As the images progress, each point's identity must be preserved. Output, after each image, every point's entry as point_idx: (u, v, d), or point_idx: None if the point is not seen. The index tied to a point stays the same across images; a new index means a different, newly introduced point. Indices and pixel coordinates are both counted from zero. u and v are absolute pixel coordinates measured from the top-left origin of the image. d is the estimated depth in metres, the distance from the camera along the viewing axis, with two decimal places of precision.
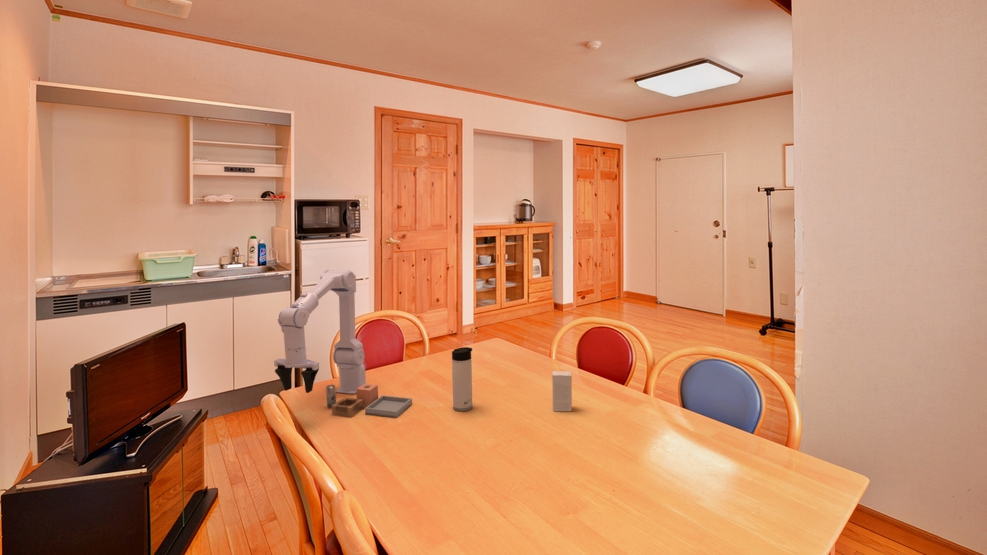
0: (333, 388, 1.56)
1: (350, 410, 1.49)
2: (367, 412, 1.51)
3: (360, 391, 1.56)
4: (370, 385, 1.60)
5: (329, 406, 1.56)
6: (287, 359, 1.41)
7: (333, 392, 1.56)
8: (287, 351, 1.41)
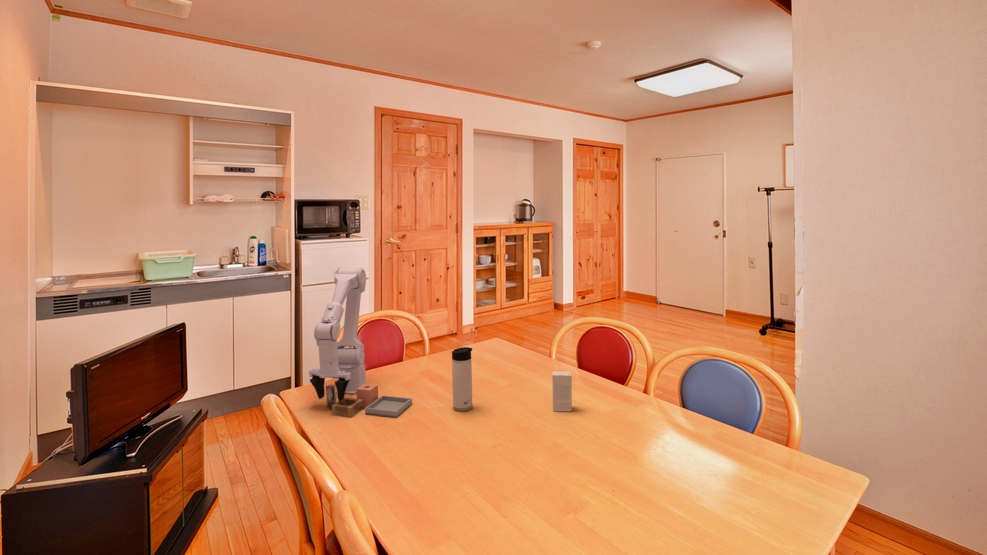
0: (333, 388, 1.56)
1: (350, 410, 1.49)
2: (367, 412, 1.51)
3: (360, 391, 1.56)
4: (370, 385, 1.60)
5: (329, 406, 1.56)
6: (322, 370, 1.53)
7: (333, 392, 1.56)
8: (322, 362, 1.53)
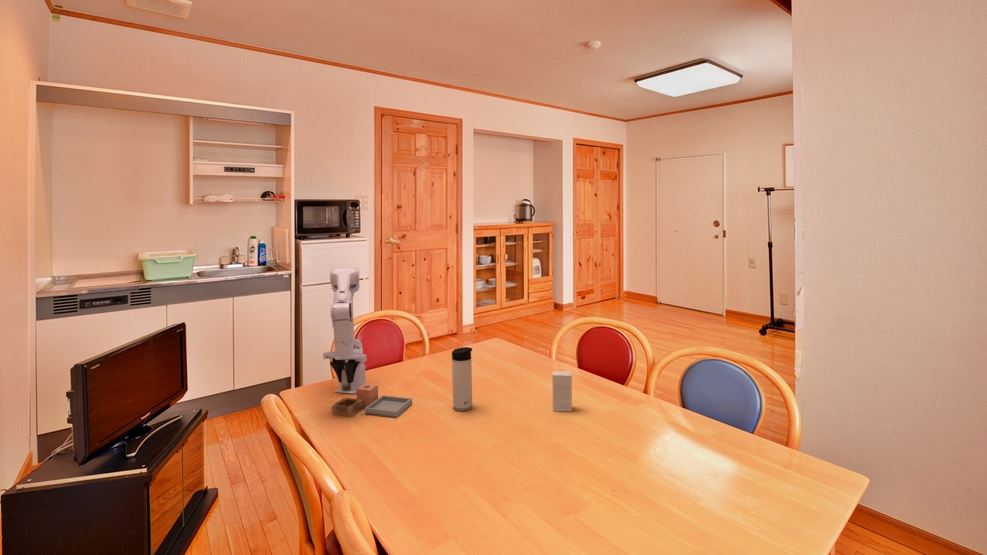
0: None
1: (350, 410, 1.49)
2: (367, 412, 1.51)
3: (360, 391, 1.56)
4: (370, 385, 1.60)
5: (344, 389, 1.51)
6: (336, 352, 1.48)
7: None
8: (337, 344, 1.48)
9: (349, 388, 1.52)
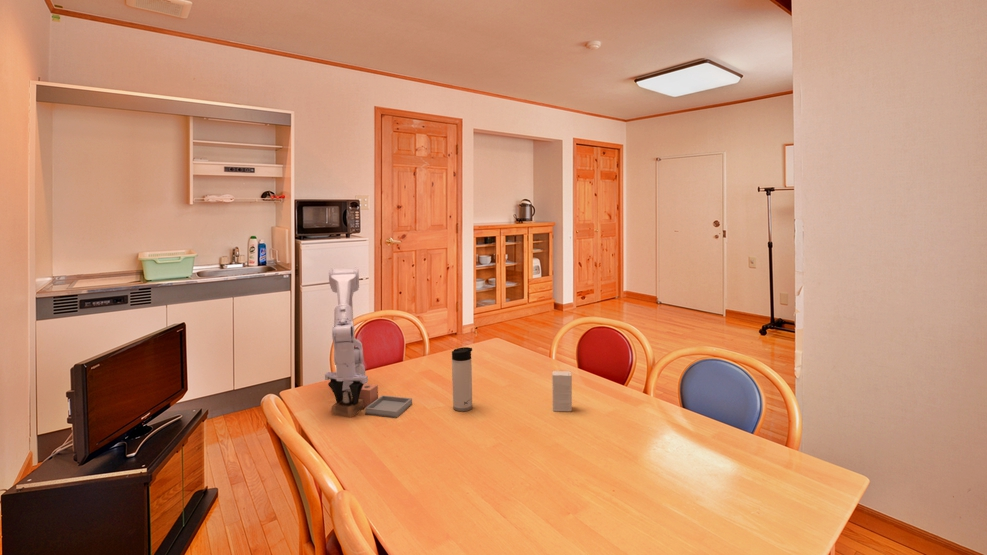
0: (350, 392, 1.52)
1: (350, 410, 1.49)
2: (367, 412, 1.51)
3: None
4: (370, 385, 1.60)
5: None
6: (338, 373, 1.49)
7: (350, 397, 1.52)
8: (338, 365, 1.49)
9: None
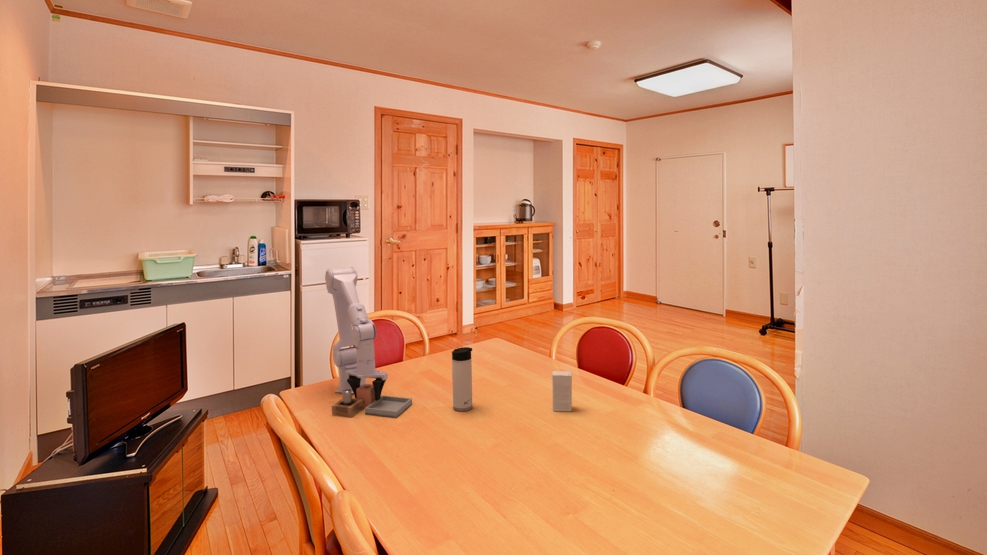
0: (350, 392, 1.52)
1: (350, 410, 1.49)
2: (367, 412, 1.51)
3: (360, 391, 1.56)
4: (370, 385, 1.60)
5: None
6: (359, 370, 1.55)
7: (350, 397, 1.52)
8: (359, 363, 1.55)
9: None
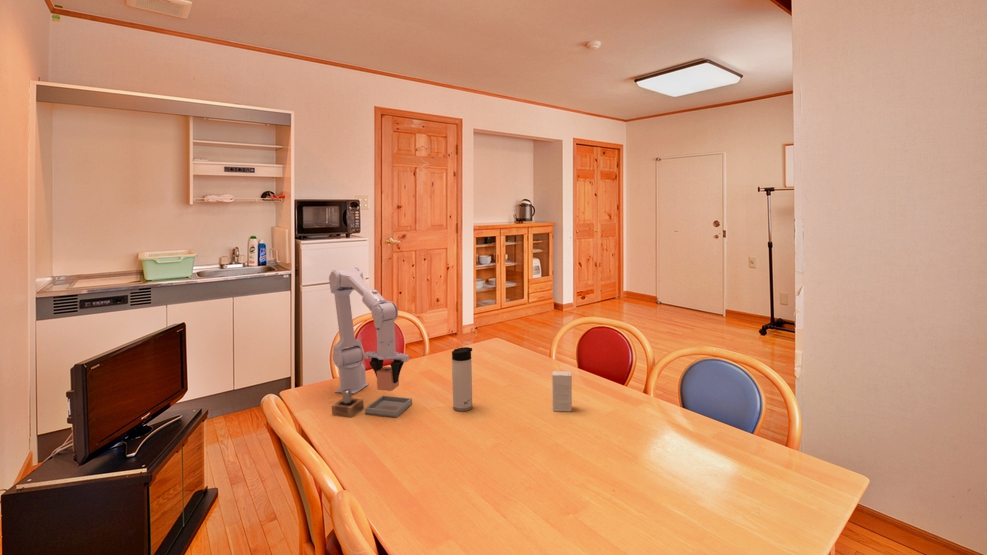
0: (350, 392, 1.52)
1: (350, 410, 1.49)
2: (367, 412, 1.51)
3: (380, 373, 1.51)
4: (391, 368, 1.54)
5: None
6: (379, 351, 1.50)
7: (350, 397, 1.52)
8: (380, 344, 1.49)
9: None
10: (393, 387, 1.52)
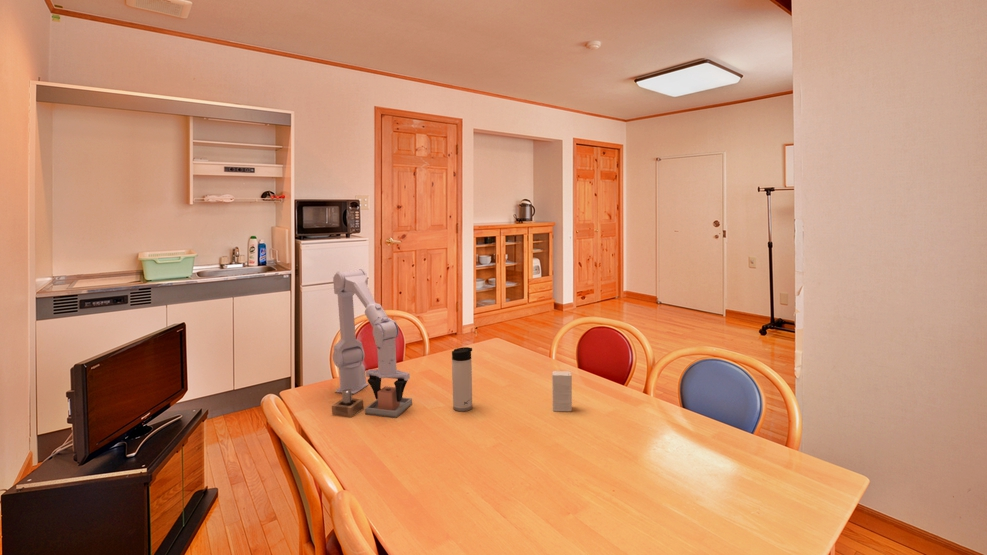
0: (350, 392, 1.52)
1: (350, 410, 1.49)
2: (367, 412, 1.51)
3: (381, 393, 1.52)
4: (392, 388, 1.55)
5: None
6: (380, 370, 1.51)
7: (350, 397, 1.52)
8: (381, 362, 1.50)
9: None
10: (394, 407, 1.53)
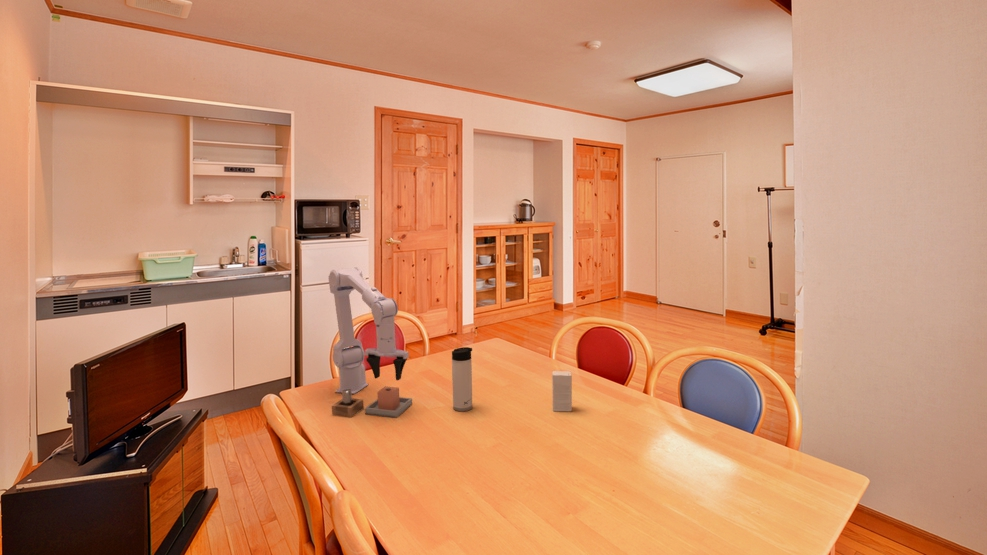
0: (350, 392, 1.52)
1: (350, 410, 1.49)
2: (367, 412, 1.51)
3: (381, 393, 1.52)
4: (392, 388, 1.55)
5: None
6: (379, 348, 1.50)
7: (350, 397, 1.52)
8: (380, 341, 1.49)
9: None
10: (394, 407, 1.53)
